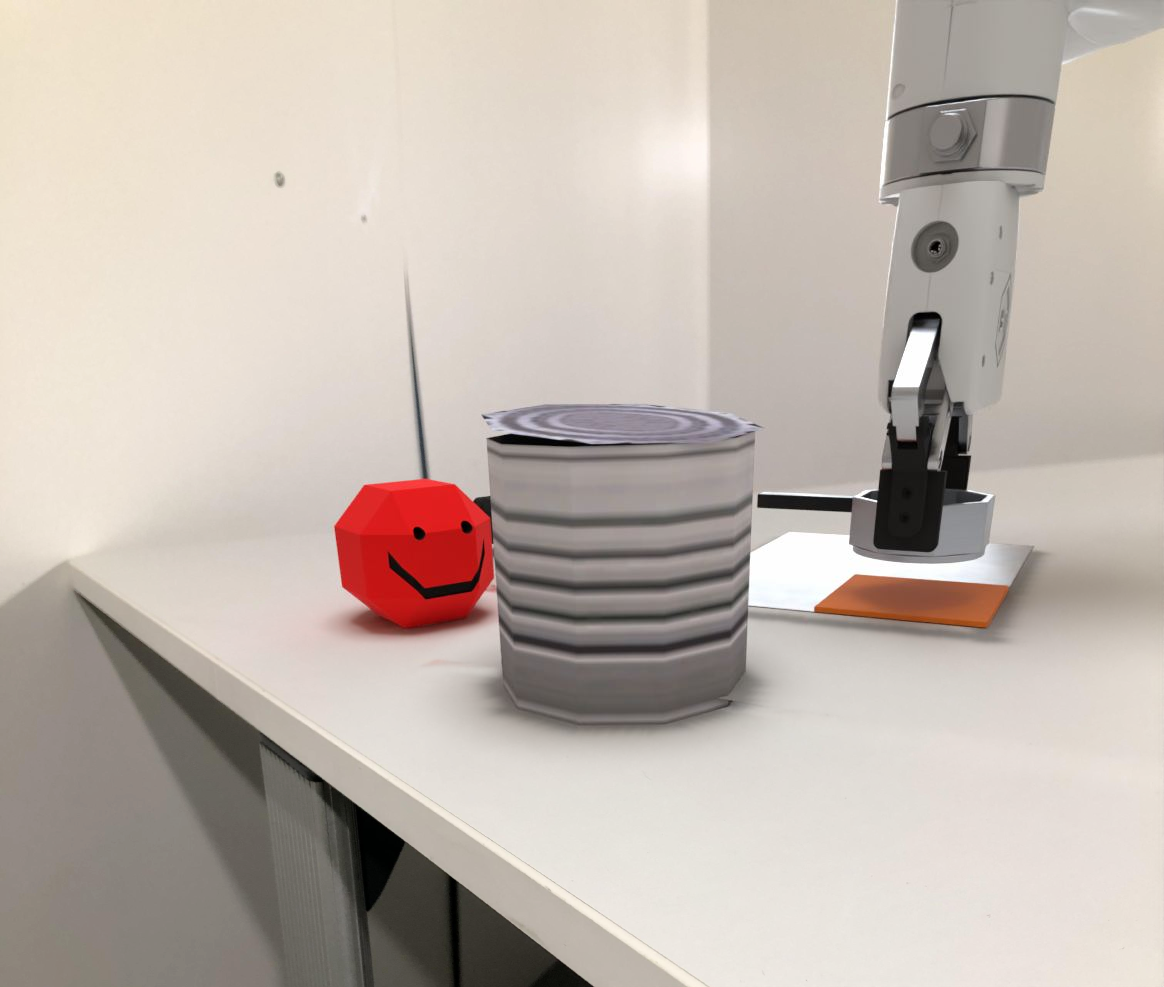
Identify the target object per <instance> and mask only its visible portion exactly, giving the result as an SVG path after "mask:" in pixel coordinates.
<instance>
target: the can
mask: <svg viewBox="0 0 1164 987" xmlns="http://www.w3.org/2000/svg"><path fill="white" fill-rule="evenodd" d="M481 417H482V419H483V420H484V422H485V423H486V424H487V426H488V427H489V429H490V430H491V432H496V433H497V432H498V433H504V434H501V435H495V436H490V437H486V438H485V439H486V452H487V454H486V455H487V468H488V483H489V496H490V498H491V513H492V528H493V543H494V544H493V554H494V555H493V559H494V569H495V570H494V573H495V582H496V583H495V586H496V602H497V616H498V629H499V630H498V631H499V645H500V646H499V647H500V660H501V673H502V675H501V676H502V686H503V688H504V690H505V691H506V693H507V694H508V696H509V697H510V699H511V700H512V702H513V704H514V706H515V707H516V709H517V710H519V711H523V712H527V713H531V714H535V715H539V716H542V717H545V718H550V719H554V720H558V721H562V722H565V723H569V724H573V725H577V726H645V725H646V726H649V725H653V726H654V725H655V726H656V725H657V726H659V725H668V724H670V723H671V724H672V723H674V722H678V721H681V720H685V719H688V718H693V717H697V716H700V715H704V714H707V713H711V712H714V711H718V710H721V709H726V708H729V706H730V705H731V704H732V701H734V700H732V699H726V698H723V697H728V696H729V695H730V694H731V693H732V691H733V690H734V688H735V687H736V686H737V684H738V683H739V681H740V680H741V679H742V678H743V676H744V674H745V673H746V671H747V649H748V648H747V646H748V624H749V623H748V620H749V607H748V600H749V575H750V553H751V551H752V550H751V548H752V522H753V501H754V500H753V494H754V473H755V450H756V449H755V446H756V432H758V431H761V430H765V429H766V427H763V426H761V425H758V424H756V423H754V422H752V421H749V420H747V419H745V418H742V417H741V416H738V415H735V414H734V413H731V412H723V411H713V410H705V409H704V410H703V409H694V408H684V407H675V406H667V405H665V406H664V405H655V404H647V403H646V404H645V403H595V404H594V403H588V404H587V403H578V404H577V403H575V404H574V403H569V404H568V403H567V404H566V403H565V404H564V403H563V404H562V403H561V404H560V403H559V404H557V403H553V404H551V403H550V404H547V403H546V404H538V405H533V406H526V407H519V408H516V409H515V408H514V409H507V410H501V411H494V412H488V413H483V414H482V413H481Z"/></svg>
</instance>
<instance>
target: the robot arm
mask: <svg viewBox="0 0 1164 987" xmlns="http://www.w3.org/2000/svg"><path fill="white" fill-rule="evenodd" d="M894 8H895V9H894V21H893V22H894V23H893V32H892V43H891V45H892V46H891V55H890V67H889V76H888V77H889V78H888V90H887V100H886V112H885V113H886V114H885V124H884V135H883V136H884V137H883V147H882V158H881V167H880V168H881V169H880V181H879V194H878V203H879V204H881V205H884V206H888V207H891V206H893V207H897V211H896V215H895V216H896V217H895V224H894V232H893V236H892V238H891V252H890V260H889V266H888V276H887V284H886V291H885V301H884V310H883V318H882V329H881V338H880V339H881V340H880V349H879V350H880V351H879V362H878V364H879V365H878V379H877V380H878V383H877V400H878V404H879V406H880V407H881V408H882V409H883V410H884V411H885V412H886V413H888V414H889V420H888V423H887V425H886V433H885V434H886V436H885V441H884V445H883V450H882V456H881V469H880V470H879V478H878V488H877V489H878V497H877V507H876V518H875V528H874V538H873V544H874V546H875V547H876V548H877V549H882V550H898V551H913V552H932V551H933V550H935V549H936V548H937V546H938V542H939V534H940V526H941V518H942V510H943V502H944V494H945V488H949V489H964V490H968V484H969V478H970V470H971V463H972V462H971V461H972V455H971V454H970V455H969V453H970V451H971V445H972V436H973V435H972V434H973V418H974V417H973V416H975V415H978V414H982V413H984V412H985V411H988V410H989V409H991V408H992V407H994V406H995V405H997V404H998V403H999V402H1000V400H1001V399H1002V394H1003V387H1004V377H1005V368H1006V359H1007V358H1006V357H1007V348H1008V339H1009V329H1010V322H1011V315H1012V314H1011V312H1012V306H1013V296H1014V286H1015V277H1016V269H1017V259H1018V258H1017V257H1018V246H1019V232H1020V231H1019V228H1020V205H1021V199H1023V198H1027V197H1030V196H1035V195H1038V194H1039V193H1040V192H1043V191H1044V188H1045V182H1046V175H1047V169H1048V160H1049V153H1050V147H1051V139H1052V134H1053V126H1054V119H1055V115H1056V114H1055V113H1056V105H1057V98H1058V91H1059V85H1060V78H1061V72H1062V66H1063V65H1066V64H1069V63H1071V62H1074V61H1076V60H1079V59H1081V58H1084V57H1087V56H1088V55H1089V56H1090V55H1091V54H1094V53H1096V52H1100V51H1101V50H1103V49H1106V48H1109V47H1112V46H1116V45H1121V44H1125V43H1127V42H1128V43H1129V42H1130V41H1133V40H1135V39H1138V38H1141V37H1143V36H1146V35H1148V34H1150V33H1153V32H1154V33H1155V32H1156V31H1159V30H1161V29H1164V0H895V6H894Z"/></svg>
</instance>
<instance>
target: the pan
mask: <svg viewBox="0 0 1164 987" xmlns="http://www.w3.org/2000/svg"><path fill="white" fill-rule="evenodd" d="M877 497H878V488H876V489H865V490H863V491H861V492H860V493H858V494H855V495H844V494H825V493H824V494H823V493H822V494H820V493H797V492H796V493H795V492H772V491H762V492H760V493H757V499H756V500H757V502H756V508H757V509H772V510H793V511H814V512H835V513H837V512H838V513H851V515H850V526H849V535H850V536H849V544H850V545H853V551H854V552H855V553H856V554H858V555H861V556H864V557H867V558H872V559H877V560H883V561H891V562H902V563H921V564H938V563H956V562H964V561H970V560H975V559H978V558H980V557H982V556H983V555H984V554H985V547H986V546H987V544H988V543H990V537H991V532H992V531H991V529H992V524H993V517H994V508H995V501H996V495H995V494H993V493H986V492H981V491H980V492H979V491H976V490H975V491H974V490H969V489H967V490H964V489H949V488H945V494H944V502H943V510H942V518H941V526H940V534H939V542H938V546H937V548H936V549H935V550H933V551H932V552H913V551H898V550H882V549H877V548H876V547H875V546H874V544H873V538H874V528H875V518H876V507H877Z"/></svg>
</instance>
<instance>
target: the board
mask: <svg viewBox="0 0 1164 987" xmlns="http://www.w3.org/2000/svg"><path fill="white" fill-rule="evenodd" d="M849 536H850V534H835V533H834V534H832V533H829V534H828V533H815V532H797V531H789V532H788V531H787V532H786V533H784V534H783V535H780V536H779V537H777V538H775V539H774V540H771V541H770V542H768V543H766V544H764V545H762V546H760V547H759V548H757V549H754V550H753V551H750V575H749V600H748V608H760V609H771V610H781V611H782V610H783V611H790V612H791V611H792V612H803V613H811V614H812V613H813V614H823V615H835V616H843V617H844V616H845V617H846V616H847V617H856V618H865V619H866V618H867V619H876V620H886V621H887V620H888V621H897V622H907V623H909V622H910V623H920V624H930V625H940V626H941V625H942V626H951V627H963V628H973V629H983V630H987V628H989V627H990V624H991V622H992V621H993V619H994V617H995V615H996V613H997V612H998V611H999V608H1000V606H1001V605H1002V603H1003V602H1004V599H1005V598H1006V596H1007V595H1008V592H1010V590H1011V588H1012V585H1013V584H1014V582H1015V581H1016V579H1017V577H1018V575H1019V574H1020V572H1021V570H1022V568H1023V567H1024V565H1025V563H1026V561H1027V560H1028V558H1029V557H1030V554H1031V553H1032V551H1033V550H1034V548H1035V546H1034V545H1029V544H1012V543H992V542H989V543H988V544H987V546H986V547H985V554H984V555H983V556H982V557H980V558H978V559H975V560H970V561H964V562H956V563H938V564H921V563H902V562H891V561H883V560H877V559H872V558H867V557H864V556H861V555H858V554H856V553H855V552H854V551H853V545H850V544H849ZM855 574H860V575H873V576H887V577H900V578H914V579H927V580H941V581H954V582H968V583H981V584H995V585H1008V586H1009V590H1008V592H1007V593H1006V595H1005V597H1004V599H1003V600H1002V602H1001V604H1000V606H999V607H998V609H997V611H996V612H995V614H994V616H993V618H992V619H991V621H990V623H989V625H988V626H987V628H983V627H973V626H962V625H951V624H941V623H930V622H919V621H909V620H898V619H887V618H876V617H866V616H855V615H844V614H834V613H823V612H814V607H815V606H816V605H817V604H818V603H820V602H821V601H822V600H823V599H825V598H826V597H827V596H828V595H830V594H831V593H832V592H833V591H835V590H836V589H837V588H838V587H840V586H841V585H842V584H843V583H845V582H846V581H847V580H849V579H850V578H851V577H852V576H854V575H855Z"/></svg>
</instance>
